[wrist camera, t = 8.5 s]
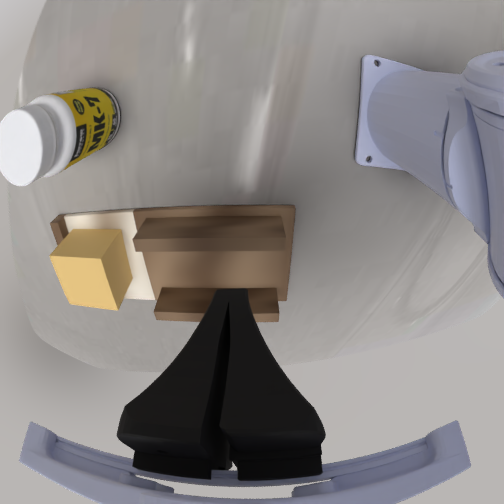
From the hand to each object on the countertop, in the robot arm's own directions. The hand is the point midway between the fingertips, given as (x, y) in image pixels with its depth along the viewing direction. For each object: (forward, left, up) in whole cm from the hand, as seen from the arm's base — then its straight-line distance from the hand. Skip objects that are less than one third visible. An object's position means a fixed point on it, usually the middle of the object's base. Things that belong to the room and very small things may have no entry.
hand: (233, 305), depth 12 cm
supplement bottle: (+10, -8, -10) cm, 16 cm away
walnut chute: (+6, +4, -9) cm, 12 cm away
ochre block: (+12, +3, -9) cm, 15 cm away
